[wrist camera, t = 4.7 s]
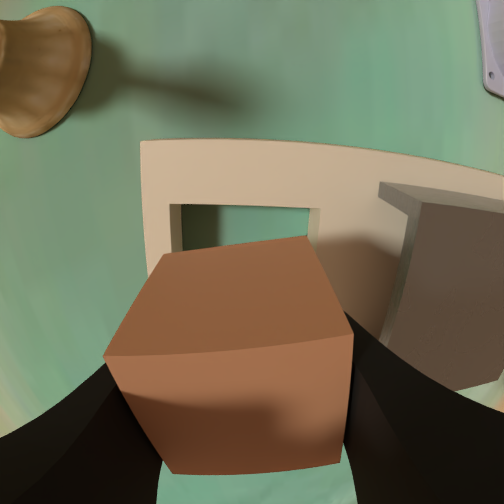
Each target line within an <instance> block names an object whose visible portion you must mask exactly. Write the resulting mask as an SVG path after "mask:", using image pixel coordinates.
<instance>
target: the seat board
mask: <svg viewBox="0 0 504 504" xmlns="http://www.w3.org/2000/svg"><path fill="white" fill-rule="evenodd" d="M140 155H141V189H142V209H143V224H144V238H145V249H146V260H147V270H148V278H149V276H150V274H151V273H152V271H153V270H154V268H155V266H156V265H157V263H158V262H159V260H160V259H161V257H162V255H163V254H166V253H174V252H181V251H183V247H182V220H181V204H219V205H253V206H279V207H300V208H310V213H309V224H308V234H307V237H308V239H309V241H310V243H311V245H312V247H313V249H314V251H315V253H316V255H317V257H318V259H319V261H320V263H321V265H322V267H323V269H324V272H325V274H326V276H327V278H328V280H329V282H330V284H331V286H332V288H333V290H334V292H335V294H336V296H337V299H338V301H339V303H340V305H341V307H342V309H343V310H344V311H345V312H346V313H347V314H348V315H350V316H351V317H352V318H353V319H354V320H355V321H356V322H358V323H359V324H360V325H361V326H362V327H363V328H364V329H365V330H367V331H368V332H369V333H370V334H371V335H372V336H374V337H375V338H376V339H377V340H378V341H379V338H380V335H381V331H382V328H383V325H384V321H385V317H386V314H387V310H388V307H389V303H390V299H391V295H392V291H393V287H394V283H395V279H396V274H397V270H398V265H399V261H400V256H401V251H402V246H403V241H404V236H405V231H406V225H407V219H408V215H406V214H405V213H403V212H402V211H400V210H398V209H397V208H395V207H394V206H392V205H390V204H389V203H387V202H385V201H384V200H382V199H380V198H379V197H378V192H379V183H380V181H381V182H390V183H398V184H406V185H414V186H421V187H428V188H435V189H441V190H448V191H454V192H460V193H466V194H471V195H477V196H482V197H487V198H493V199H498V200H503V201H504V176H503V175H500V174H497V173H493V172H489V171H485V170H481V169H477V168H473V167H468V166H464V165H460V164H455V163H450V162H446V161H441V160H436V159H431V158H425V157H420V156H414V155H409V154H403V153H397V152H390V151H383V150H376V149H369V148H362V147H353V146H345V145H336V144H326V143H315V142H303V141H289V140H271V139H247V138H170V139H153V140H145V141H140Z"/></svg>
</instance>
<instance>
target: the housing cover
mask: <svg viewBox="0 0 504 504" xmlns="http://www.w3.org/2000/svg"><path fill="white" fill-rule="evenodd" d="M378 197H379V198H380V199H382V200H384V201H385V202H387V203H389V204H390V205H392V206H394V207H395V208H397V209H398V210H400V211H402V212H403V213H405V214H406V215H408V219H407V225H406V231H405V236H404V241H403V246H402V251H401V256H400V261H399V265H398V270H397V274H396V279H395V283H394V287H393V291H392V295H391V299H390V303H389V307H388V310H387V314H386V317H385V321H384V325H383V328H382V331H381V335H380V338H379V341H380V342H381V343H382V344H383V345H385V346H386V347H387V348H388V349H389V350H391V351H392V352H393V353H394V354H396V355H397V356H398V357H400V358H401V359H402V360H404V361H405V362H407V363H408V364H410V365H411V366H412V367H414V368H415V369H417V370H418V371H420V372H421V373H423V374H424V375H426V376H428V377H429V378H431V379H433V380H434V381H436V382H438V383H440V384H441V385H443V386H445V387H447V388H448V389H450V390H452V391H458V390H462V389H466V388H470V387H474V386H478V385H482V384H485V383H489V382H492V381H496V380H498V378H499V377H500V375H501V373H502V371H503V369H504V201H503V200H498V199H493V198H487V197H482V196H477V195H471V194H466V193H460V192H454V191H448V190H441V189H435V188H428V187H421V186H414V185H406V184H398V183H390V182H381V181H380V183H379V192H378Z"/></svg>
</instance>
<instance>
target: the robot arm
mask: <svg viewBox="0 0 504 504" xmlns="http://www.w3.org/2000/svg"><path fill="white" fill-rule="evenodd" d="M476 5H477V12H478V19H479V27H480V36H481V47H482V63H483V84H484V86H485V88H486V89H487V90H488V91H490V92H492V93H494V94H496V95H499V96H501V97H503V98H504V0H476ZM489 74H490V75H491V78H490V77H489ZM343 311H344V310H343ZM344 314H345V316H346V318H347V320H348V322H349V324H350V327H351V329H352V331H353V333H354V339H353V354H352V368H351V379H350V390H349V399H348V408H347V417H346V424H345V432H344V439H343V443H344V446H345V449H346V453H347V456H348V459H349V463H350V466H351V470H352V475H353V480H354V485H355V491H356V496H357V502H358V504H504V413H503V412H500V411H497V410H495V409H492V408H489V407H487V406H484V405H482V404H480V403H478V402H475V401H473V400H471V399H469V398H466V397H464V396H462V395H460V394H458V393H456V392H454V391H452V390H450V389H448V388H447V387H445V386H443V385H441V384H440V383H438V382H436V381H434V380H433V379H431V378H429V377H428V376H426V375H424V374H423V373H421V372H420V371H418V370H417V369H415V368H414V367H412V366H411V365H410V364H408V363H407V362H405V361H404V360H402V359H401V358H400V357H398V356H397V355H396V354H394V353H393V352H392V351H391V350H389V349H388V348H387V347H386V346H385V345H383V344H382V343H381V342H380V341H378V340H377V339H376V338H375V337H374V336H372V335H371V334H370V333H369V332H368V331H367V330H365V329H364V328H363V327H362V326H361V325H360V324H359V323H358V322H356V321H355V320H354V319H353V318H352V317H351V316H350V315H348V314H347V313H346V312H345V311H344ZM162 461H163V459H162V458H161V456H160V455H159V454H158V452H157V451H156V449H155V448H154V446H153V444H152V443H151V441H150V440H149V438H148V437H147V435H146V434H145V432H144V430H143V429H142V427H141V425H140V424H139V422H138V421H137V419H136V417H135V415H134V414H133V412H132V410H131V409H130V407H129V405H128V403H127V402H126V400H125V398H124V396H123V394H122V393H121V391H120V389H119V387H118V385H117V383H116V381H115V379H114V378H113V376H112V374H111V372H110V370H109V368H108V366H107V364H106V363H105V364H103V365H102V366H101V367H100V368H99V369H98V370H97V371H96V372H95V373H94V374H93V375H91V376H90V377H89V378H88V379H87V380H85V381H84V382H83V383H82V384H81V385H80V386H78V387H77V388H76V389H75V390H74V391H73V392H71V393H70V394H69V395H68V396H66V397H65V398H64V399H63V400H61V401H60V402H59V403H57V404H56V405H55V406H53V407H52V408H50V409H49V410H47V411H46V412H45V413H43V414H42V415H40V416H39V417H37V418H36V419H34V420H32V421H30V422H29V423H27V424H25V425H23V426H22V427H20V428H18V429H16V430H15V431H13V432H11V433H9V434H7V435H5V436H3V437H1V438H0V504H156V500H157V489H158V481H159V475H160V470H161V465H162Z"/></svg>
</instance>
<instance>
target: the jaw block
mask: <svg viewBox="0 0 504 504" xmlns="http://www.w3.org/2000/svg"><path fill="white" fill-rule="evenodd" d="M353 339H354V333H353V331H352V329H351V327H350V324H349V322H348V320H347V318H346V316H345V314H344V311H343V309H342V307H341V305H340V303H339V301H338V299H337V296H336V294H335V292H334V290H333V288H332V286H331V284H330V282H329V280H328V278H327V276H326V274H325V272H324V269H323V267H322V265H321V263H320V261H319V259H318V257H317V255H316V253H315V251H314V249H313V247H312V245H311V243H310V241H309V239H308V237H307V235H306V236H298V237H290V238H282V239H274V240H266V241H258V242H250V243H242V244H235V245H227V246H219V247H212V248H204V249H196V250H189V251H181V252H174V253H166V254H163V255H162V257H161V259H160V260H159V262H158V263H157V265H156V266H155V268H154V270H153V271H152V273H151V274H150V276H149V278H148V279H147V281H146V283H145V284H144V286H143V287H142V289H141V291H140V292H139V294H138V296H137V297H136V299H135V301H134V302H133V304H132V306H131V307H130V309H129V311H128V312H127V314H126V316H125V318H124V319H123V321H122V323H121V325H120V326H119V328H118V330H117V331H116V333H115V335H114V337H113V339H112V340H111V342H110V344H109V346H108V347H107V349H106V351H105V353H104V355H103V358H104V360H105V362H106V364H107V366H108V368H109V370H110V372H111V374H112V376H113V378H114V379H115V381H116V383H117V385H118V387H119V389H120V391H121V393H122V394H123V396H124V398H125V400H126V402H127V403H128V405H129V407H130V409H131V410H132V412H133V414H134V415H135V417H136V419H137V421H138V422H139V424H140V425H141V427H142V429H143V430H144V432H145V434H146V435H147V437H148V438H149V440H150V441H151V443H152V444H153V446H154V448H155V449H156V451H157V452H158V454H159V455H160V456H161V458H162V459H163V461H164V462H165V464H166V465H167V467H168V468H169V469H170V471H171V472H172V474H186V475H238V474H257V473H270V472H281V471H290V470H298V469H305V468H312V467H318V466H324V465H330V464H336V463H340V459H341V452H342V446H343V439H344V432H345V424H346V417H347V408H348V399H349V390H350V379H351V368H352V354H353Z"/></svg>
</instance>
